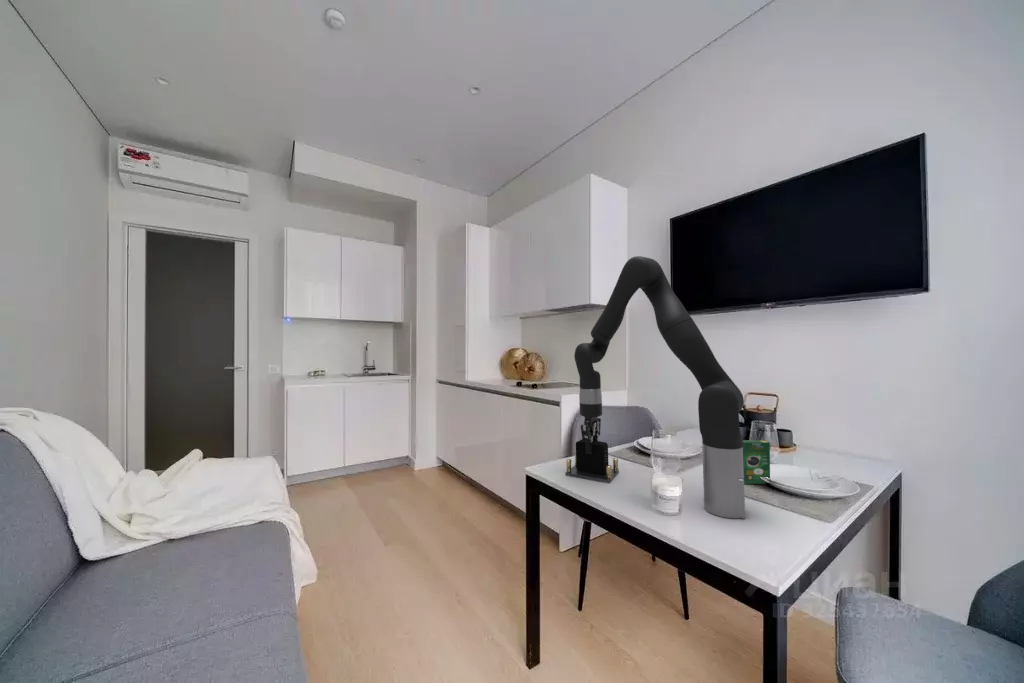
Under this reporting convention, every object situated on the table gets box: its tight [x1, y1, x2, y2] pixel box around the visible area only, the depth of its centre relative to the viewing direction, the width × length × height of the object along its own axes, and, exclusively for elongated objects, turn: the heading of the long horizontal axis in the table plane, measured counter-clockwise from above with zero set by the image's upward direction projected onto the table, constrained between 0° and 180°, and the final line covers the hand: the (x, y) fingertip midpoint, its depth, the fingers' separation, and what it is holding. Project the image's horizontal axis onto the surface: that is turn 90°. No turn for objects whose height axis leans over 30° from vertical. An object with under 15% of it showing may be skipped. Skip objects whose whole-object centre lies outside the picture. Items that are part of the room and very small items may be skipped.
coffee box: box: [743, 439, 771, 485], centre depth 114 cm, size 8×3×13 cm, turn 87°
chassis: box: [565, 452, 620, 484], centre depth 124 cm, size 15×11×5 cm
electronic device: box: [575, 438, 610, 475], centre depth 124 cm, size 4×10×10 cm, turn 54°
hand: (591, 451), depth 124 cm, fingers open, 5 cm apart
